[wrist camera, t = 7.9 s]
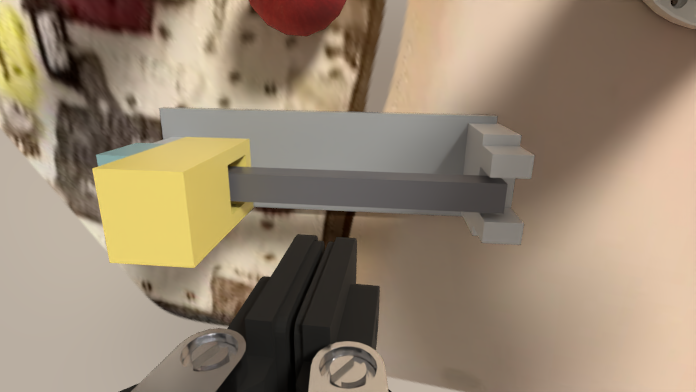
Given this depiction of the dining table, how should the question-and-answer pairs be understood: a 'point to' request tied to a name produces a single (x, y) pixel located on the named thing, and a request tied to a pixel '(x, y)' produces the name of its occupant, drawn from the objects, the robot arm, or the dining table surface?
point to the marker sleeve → (171, 201)
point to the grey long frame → (366, 162)
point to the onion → (298, 14)
